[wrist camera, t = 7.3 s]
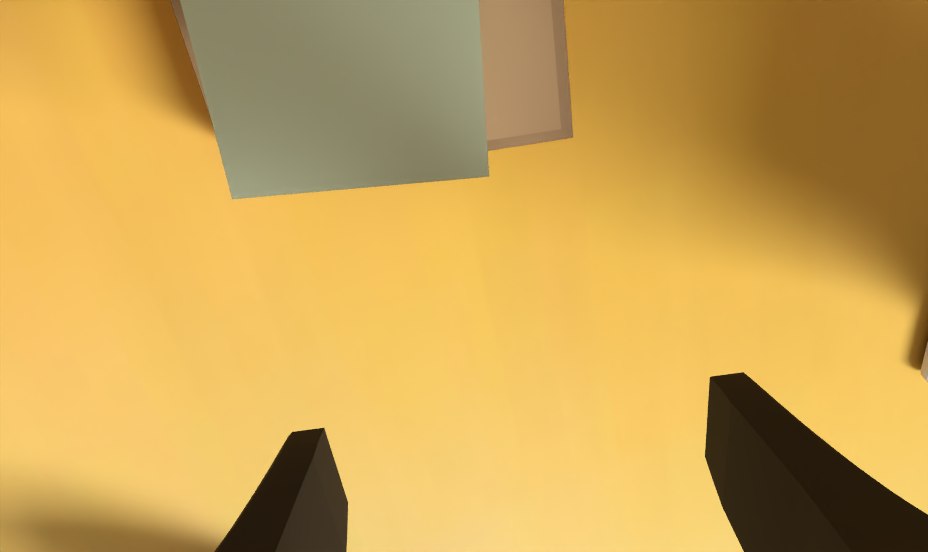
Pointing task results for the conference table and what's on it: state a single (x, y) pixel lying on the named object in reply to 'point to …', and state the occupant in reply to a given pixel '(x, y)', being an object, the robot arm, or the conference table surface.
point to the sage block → (341, 91)
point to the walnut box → (509, 70)
